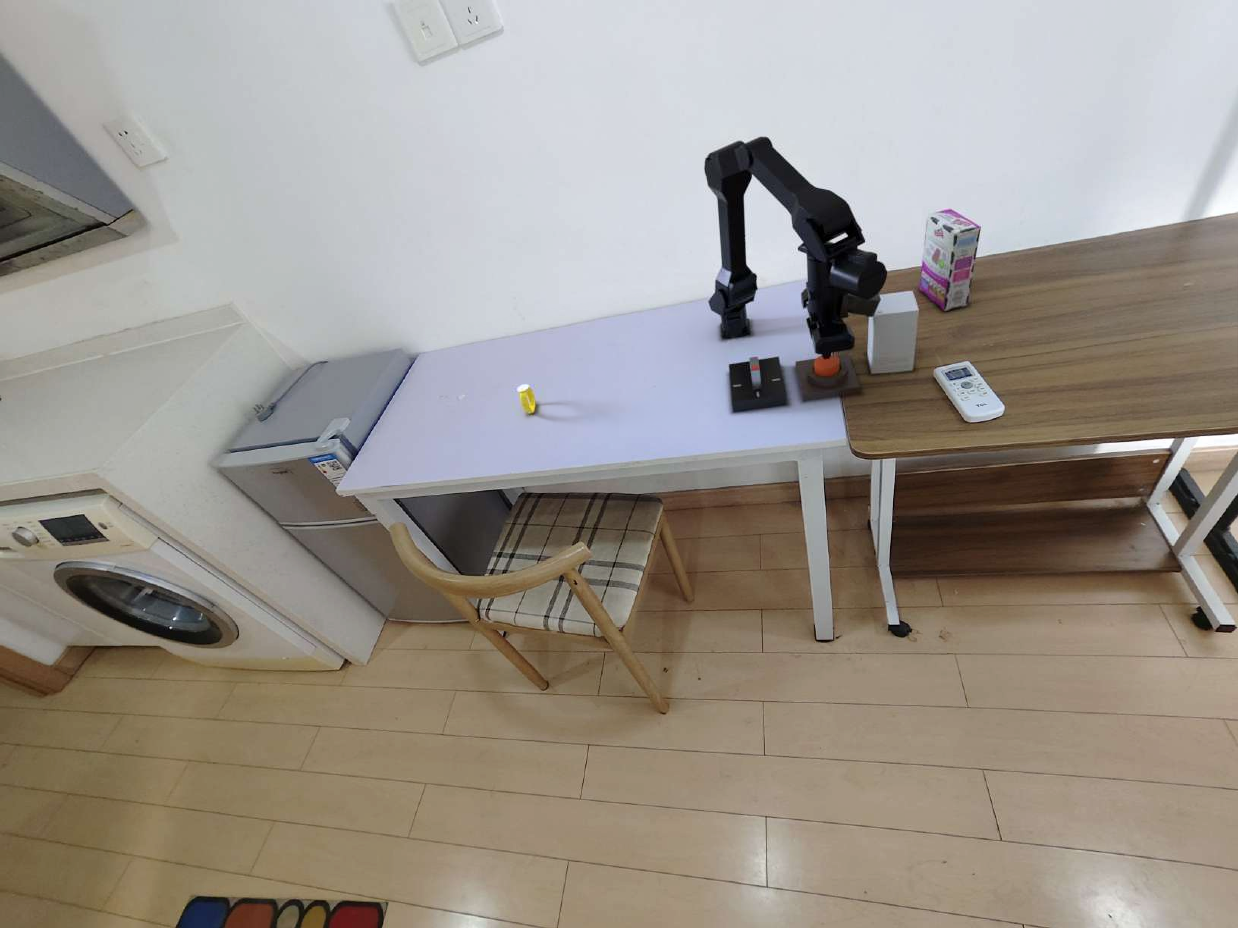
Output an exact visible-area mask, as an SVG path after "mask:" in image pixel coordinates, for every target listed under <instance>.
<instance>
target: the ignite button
mask: <svg viewBox="0 0 1238 928" xmlns="http://www.w3.org/2000/svg"><path fill="white" fill-rule="evenodd" d="M835 355H836V354H831V357H830V358H829V359H823V357H822V355H818V357H815V358H816V359H815V358H814V359H815V361H814V369H815V373H816V374H817V375H818V376H824V377H827V376H833V375H835V374H837V373H838V372H839V358H838V357H837V356H835Z"/></svg>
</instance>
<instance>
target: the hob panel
mask: <svg viewBox="0 0 1238 928" xmlns="http://www.w3.org/2000/svg"><path fill="white" fill-rule="evenodd" d="M758 362H759V369H760V378H761V387H762V389H761V390H754V391H753V385H752V377H751V369H750V360H748V361H747V360H746V361H741V362H734V363H729V364H728V373H729V386H730V398H731V399H730V401H731V407H732V412H733V413H739V412H748V411H755V410H764V409H771V408H779V407H785V406H787V405H788V402H787V401H788V400H787V392H786V388H785V387H786V386H785V383H784V381H785V380H784V377H783V371H782V366H781V360H780V356H773V357H766V358H760V359H759V358H758Z"/></svg>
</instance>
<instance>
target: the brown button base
mask: <svg viewBox="0 0 1238 928" xmlns="http://www.w3.org/2000/svg"><path fill="white" fill-rule="evenodd" d="M849 354H850V353H843V354H841V353H840V354H834V355H835V356H837V357H838V358H839V372H838V373H837V374H835V375H833V376H827V377H824V376H818V375H817V374H816V373H815V369H814V361H815V359H816V358H817V357H815V358H810V359H809V358H808V359H803V360H797V361H795V372H796V376H797V381H798V385H799V389H800V393H801V398H802V401H803V402H807V401H808V402H810V401H816V400H824V399H830V398H839V397H846V396H853V395H859V394H861V386H860V383H859V380H858V377H857V375H856V371H855V368H854V365H853V363H852V359H851V357H850V355H849Z"/></svg>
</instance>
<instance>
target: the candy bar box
mask: <svg viewBox="0 0 1238 928" xmlns="http://www.w3.org/2000/svg"><path fill="white" fill-rule="evenodd" d="M981 229H982V226H981V225H979V224H977V223H976V222H973V221H972V220H970V219H969V218H967V217H965V216H963V214H960V213H959V212H957V211H955V210H953V209H952V208H948V209H944V210H940V211H937V212H933V213H930V214H927V215H926V226H925V233H924V242H923V251H922V263H921V269H920V280H919V291H921V293H923V294H924V295H925V296H926V297H927V298H929V299H930V300H931V301H932V302H933V303H934V304H935V305H937V307H939V308H940V309H942V311H943V312H948V311H952V310H956V309H960V308H964V307H968V306H969V305H968V304H969V301H970V299H969V298H970V293H971V289H972V288H971V287H972V281H973V276H974V270H975V264H976V258H977V252H978V246H979V243H980V235H981Z"/></svg>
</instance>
